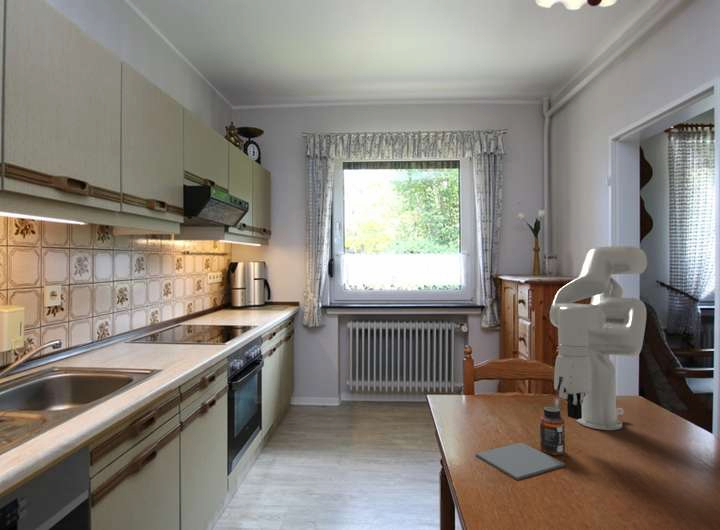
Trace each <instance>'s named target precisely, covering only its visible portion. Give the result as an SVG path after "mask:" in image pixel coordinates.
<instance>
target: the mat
mask: <svg viewBox="0 0 720 530" xmlns="http://www.w3.org/2000/svg"><path fill="white" fill-rule="evenodd" d="M475 456H476V457H477V458H479V459H480V460H482V461H484V462H486V463H487V464H489V465H490V466H493V467H494V468H496V469H497V470H499V471H501V472H503V473H504V474H506V475H508V476H509V477H511V478H513V479H514V480H516V481H519V480H521V479H525V478H527V477H529V478H530V477H532V476H535V475H538V474H542V473H546V472H549V471H551V470H552V471H553V470H555V469H558V468H562V467H565V466H566V463H565V462H564V461H561V460H559V459H557V458H554V457H553V456H552V455H550V454H546V453H545V452H543V451H540V450H538V449H536V448H534V447H532V446H529V445H528V444H526V443H523V442H522V441H521V442H517V443H513V444H509V445H505V446H501V447H495V448H493V449H489V450H485V451H480V452H476V453H475Z"/></svg>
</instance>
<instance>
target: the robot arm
mask: <svg viewBox="0 0 720 530" xmlns="http://www.w3.org/2000/svg"><path fill="white" fill-rule="evenodd" d="M647 266H648V258H647V255H646V253H645V251H644V250H643V249H641V248H638V247H635V246H631V245H616V246H615V245H613V246H597V247H594V248H591V249H590V250H589V251H587V253H586V255H585V258H584V261H583V263H582V266H581V268H580V272H579V274H578V277H577V278H574V279H573V280H571V281H570V282H568V283H567V284H565V285H564V286H562V287H561V288H559V290H558V291H557V293H556V294H555V296H554V297H553V300H552V303H551V306H550V310H549V320H550V322H551V324H552V325H553V326H554V327H556V328H557V333H558V334H557V335H558V340H557V341H558V342H557V343H558V355H556V359H555V365H554V376H553V380H554V381H553V383H554V384H553V387H554V390H555V391H557V392H559V393H558V397H559V398H561V399H564V400H565V403H566V404H567V407H566V409H567V412H566V413H567V417H568V418H571V419H574V420H576V422H577V423H578V424H580V425H582V426H584V427H588V428H591V429H595V430H599V431H600V430H602V431H617V430H621V429H622V428H623V422H622V421H621V420H620V419H618V416H619V415H623V414H625V410H624V409H623V408H622V407H617V395H616V394H617V393H616V388H617V387H616V368H615V366H614V364H613V361H612V360H611V359H610V358H609V357H608V355H612V356H620V357H632V358H633V357H637V356H638V355H640V353H641V351H642V349H643V344H644V343H643V342H644V337H645V331H646V326H647V325H646V323H647V308H646V304H645V303H644V301H643V300H641V299H639V298H635V297H623V295H624V293H623V292H624V290H623V287H622V286H621V285H620V283H618V281H616V279H614V278H613V277H612V275H641V274H643V273H644V271H646V268H647ZM590 298H591V299H590ZM585 299H590V302H589V303H576V302H579V301H582V300H585Z"/></svg>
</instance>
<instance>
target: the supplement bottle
mask: <svg viewBox="0 0 720 530" xmlns="http://www.w3.org/2000/svg"><path fill="white" fill-rule="evenodd" d="M565 427H566V426H565V420H564V418H563V417H562V416H561V408H560V409H559V408H558V407H555V406H545V407H543V414H542V415H541V416H540V419H539V430H540V431H539V435H540V437H539V439H540V442H539V443H540V444H539V445H540V446H539V447H540V450H541V452H542V453H545V454H547V455H549V456H557V457H558V456H559V457H560V456H562V455H564V454H565V452H566V434H565V433H566V431H565Z"/></svg>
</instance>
